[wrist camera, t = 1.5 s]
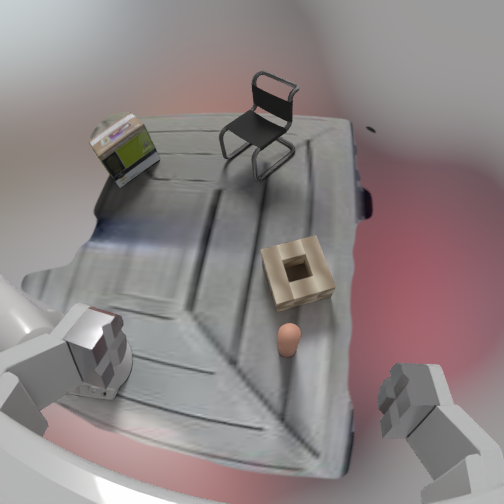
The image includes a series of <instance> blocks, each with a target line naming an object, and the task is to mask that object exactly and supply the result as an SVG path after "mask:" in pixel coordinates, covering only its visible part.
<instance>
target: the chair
mask: <svg viewBox="0 0 504 504" xmlns="http://www.w3.org/2000/svg"><path fill="white" fill-rule="evenodd" d="M260 75H266V76H268V77H270V78H273V79H275V80H277V81H280V82H282V83H284V84H286V85H289V86H291V87H293V88H294V89H293V90H292V91H291V92H290V94H289V96H288V101H285V100H283V99H281V98H278V97H276V96H274V95H272V94H269V93H267V92H265V91H263V90H261V89H259V88H258V87H257V86H256V80H257V78H258V77H259V76H260ZM298 90H299V86H298V85H297V84H294V83H292V82H290V81H287V80H285V79H283V78H281V77H278V76H276V75H273V74H271V73H269V72H266V71H259V72H257V73H256V74H255V75H254V77H253V79H252V92H253V101H254V105H253V107H252V109H251V110H249V111H247V112H246V113H244V114H243V115H241V116H240V117H238V118H237V119H235V120H234V121H232V122H231V123H229V124H228V125H226V126H225V127H224V128H223V129H222V130H221V132H220V134H219V141H220V145H221V150H222V154H223V157H224V158H225V159H231V158H233V157H234V156H235V155H237V154H238V153H239V152H241V151H242V150H243V149H245V148H246V147H247V146H249V145H250V144H253V145H255V146H257V147H258V148H257V149H256V150H255V151H254V153H253V155H252V167H253V175H254V179H255V180H257V181H259V180H262V179H263V178H265V177H266V176H267V175H268V174H270V173H271V172H272V171H273V170H274V169H276V168H277V167H278V166H279V165H281V164H282V163H283V162H284V161H285V160H287V159H288V158H289V157H290V156H292V155H293V154H294V152H295V147H294V146H293V144H291V143H290V142H288V141H287V140H285V139H283V138H282V137H280V136H282V135H283V134H284V133H286V132H287V130H288V129H289V128H290V126H291V124H292V105H293V104H292V103H293V100H292V99H293V96H294V94H295V93H296V92H297V91H298ZM257 106H259V107H260V108H262V109H264V110H266V111H268V112H269V113H271V114H273V115H275V116H277V117H279V118H281V119H283V120H285V121H288V122H287V125H286V126H285V127H284V128H283V127H281V126H278V125H276V124H274V123H272V122H270V121H268V120H266V119H264V118H263V117H261V116H259V115H258V114H256V113H255V112H254V111H255V110H256V108H257ZM227 130H230V131H231V132H233V133H234V134H236V135H237V136H239V137H240V138H242V139H244V140H245V141H247V143H245V144H244V145H243V146H241V147H240V148H239V149H237V150H236V151H234V152H233V153H232V154H230V155H227V154H226V149H225V145H224V140H223V136H224V133H225V132H226V131H227ZM276 139H278V140H280V141H281V142H283V143H285V144H286V145H288V146H289V147H290V148H291V151H290V152H289V153H288V154H287V155H286V156H284V157H283V158H282V159H281V160H279V161H278V162H277V163H276V164H274V165H273V166H272V167H271V168H269V169H268V170H267V171H266V172H264V173H263V174H262V175H261V176H259V177H258V173H257V164H256V157H257V155H258V153H259V152H260V151H262V150H263V149H264V148H266V147H267V146H268V145H270V144H271V143H272V142H274V141H275V140H276Z"/></svg>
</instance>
